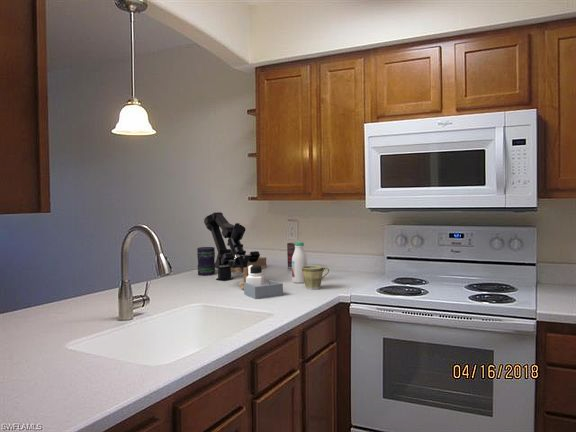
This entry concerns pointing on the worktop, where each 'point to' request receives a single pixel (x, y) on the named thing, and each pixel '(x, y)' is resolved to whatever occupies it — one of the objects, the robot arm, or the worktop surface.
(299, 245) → the milk bottle
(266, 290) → the grey angular block
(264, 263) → the wooden box
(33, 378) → the worktop surface
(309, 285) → the ceramic cup
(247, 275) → the tan wooden stepped block
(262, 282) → the medicine bottle
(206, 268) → the storage jar
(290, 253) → the supplement box
